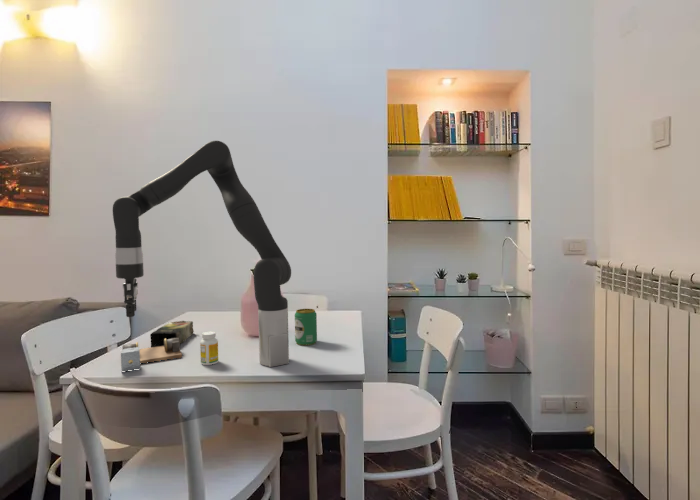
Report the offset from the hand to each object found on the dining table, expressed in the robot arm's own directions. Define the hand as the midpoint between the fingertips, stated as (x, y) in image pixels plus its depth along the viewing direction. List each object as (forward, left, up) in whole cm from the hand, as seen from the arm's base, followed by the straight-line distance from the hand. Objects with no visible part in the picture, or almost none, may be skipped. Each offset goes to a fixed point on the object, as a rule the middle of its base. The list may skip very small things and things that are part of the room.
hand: (131, 313), depth 128 cm
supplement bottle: (-10, -21, -17) cm, 29 cm away
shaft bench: (+7, -6, -16) cm, 19 cm away
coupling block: (-3, +1, -17) cm, 17 cm away
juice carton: (+24, -14, -17) cm, 33 cm away
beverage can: (-6, -56, -17) cm, 59 cm away
